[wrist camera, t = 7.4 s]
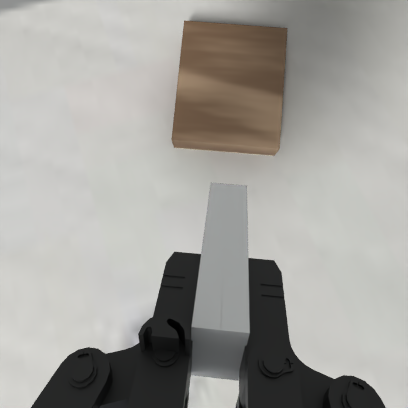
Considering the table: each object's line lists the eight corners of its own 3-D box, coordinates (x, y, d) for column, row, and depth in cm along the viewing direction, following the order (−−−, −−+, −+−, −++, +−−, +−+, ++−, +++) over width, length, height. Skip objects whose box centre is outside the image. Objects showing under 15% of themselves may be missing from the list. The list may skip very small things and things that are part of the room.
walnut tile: (174, 149, 33) (186, 39, 35) (273, 157, 33) (280, 46, 35) (171, 139, 30) (184, 20, 32) (279, 148, 30) (287, 28, 32)
